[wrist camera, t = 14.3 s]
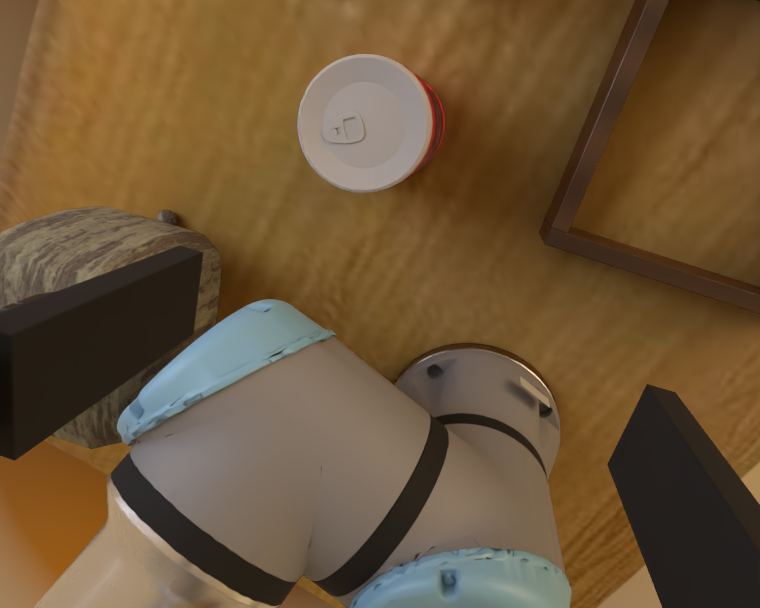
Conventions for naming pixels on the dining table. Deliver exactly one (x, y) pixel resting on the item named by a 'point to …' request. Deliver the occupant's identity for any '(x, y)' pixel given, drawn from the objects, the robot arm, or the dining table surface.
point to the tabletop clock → (93, 258)
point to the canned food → (369, 123)
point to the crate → (585, 161)
